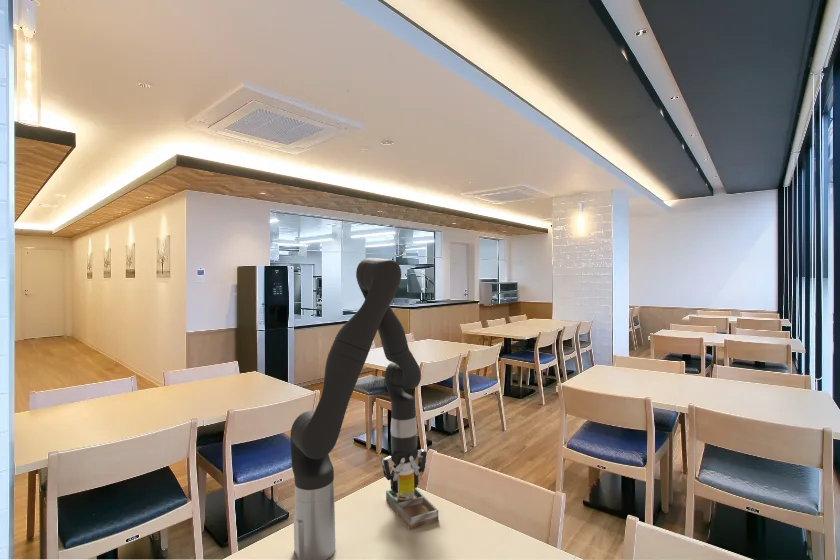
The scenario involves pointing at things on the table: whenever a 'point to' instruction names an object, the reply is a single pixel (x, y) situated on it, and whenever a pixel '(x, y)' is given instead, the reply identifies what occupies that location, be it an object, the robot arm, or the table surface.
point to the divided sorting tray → (413, 509)
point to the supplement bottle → (405, 482)
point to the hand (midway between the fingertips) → (404, 489)
